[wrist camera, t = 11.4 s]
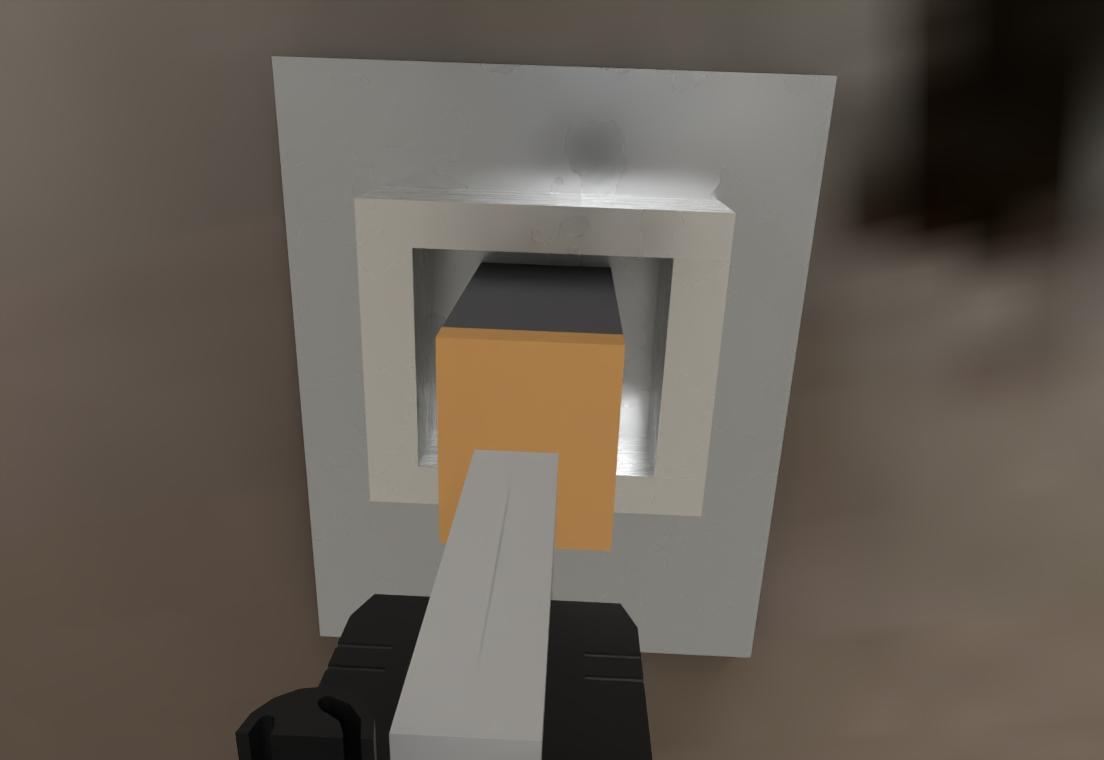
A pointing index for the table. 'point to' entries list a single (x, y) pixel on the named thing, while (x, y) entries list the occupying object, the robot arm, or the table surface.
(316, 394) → the socket plate
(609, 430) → the plug
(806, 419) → the table surface
